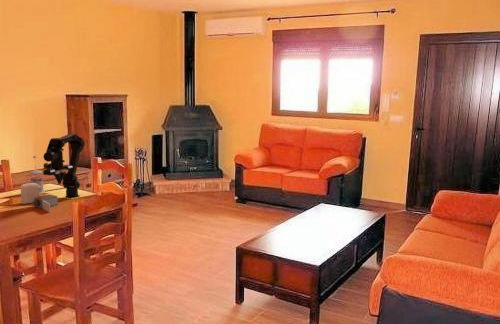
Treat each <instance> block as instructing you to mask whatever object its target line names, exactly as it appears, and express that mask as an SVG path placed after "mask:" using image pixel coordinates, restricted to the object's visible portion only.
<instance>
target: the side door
mask: <svg viewBox="0 0 500 324" xmlns="http://www.w3.org/2000/svg"><path fill="white" fill-rule="evenodd" d="M42 207H43V209H42V210H44V211H47V212H49V213H50V212H51V207H50V204H49V203H47V202H46V201H44V200H42Z"/></svg>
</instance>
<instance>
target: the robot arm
mask: <svg viewBox="0 0 500 324" xmlns="http://www.w3.org/2000/svg"><path fill="white" fill-rule="evenodd" d="M66 144H69V145H70V149H71V154H70V159H69V164H66V165H65V164H64V163H65V161H66V160H64V156H63V151H65V149H64V148H63V147H65V145H66ZM85 146H86V142H85V140H84V139H83V138H82V137H80V136H78V135H77V134H76V133H67V134H66V135H63V136H61V137H54V138H53V137H52V138H50V140H49V141H48V145H47V148H46V150H45V151H46V152H45V153H43V159H44V161H45V162H44V163H43V169H44V170H43V171H42V172H43V173H42V175H43V176H54V177H55V179H56V182H57V184H58V185H61V183H62V187H63V188H64V189H65V194H66V195H65V198H69V199H74V198H78V197H80V195H79V190H78V189H80V186H81V183H80V182H79V180H78V175H77V168H78V164H79V158H80V154H81V152H82V151H83V150H84V148H85ZM47 162H50V163H47ZM66 170H67V171H66Z"/></svg>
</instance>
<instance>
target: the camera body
mask: <svg viewBox="0 0 500 324" xmlns="http://www.w3.org/2000/svg"><path fill="white" fill-rule="evenodd" d="M42 200H44V201H46V202H47V203H49V204H50V208H51V207H55V206H58V205H59V199H58V196H57V195H54V194H46V195H45V194H44V195H41V196H38V197H35V198H34V201H33V203H32V204H33V206H34V207H35V208H39V209H42V210H44V209H43V207H42Z"/></svg>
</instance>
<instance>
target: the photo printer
mask: <svg viewBox="0 0 500 324" xmlns="http://www.w3.org/2000/svg"><path fill="white" fill-rule="evenodd" d="M39 186H40V185H38V184H37V183H30V182H29V183H28V182H26V183H24V184H21V185H20V201H21V204H22V205H25V204H26V205H27V204H33V201H34V198H35V197H38V196H40V195H41V194H39Z"/></svg>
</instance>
